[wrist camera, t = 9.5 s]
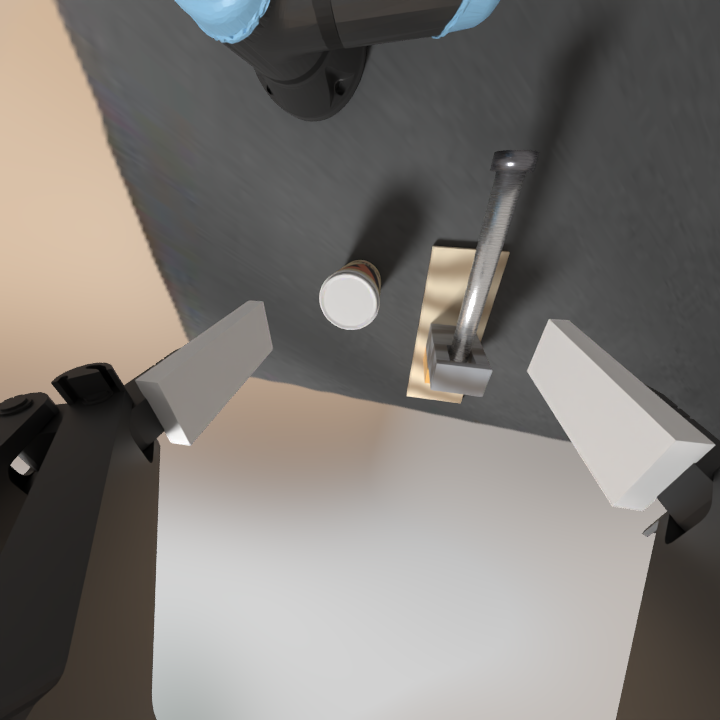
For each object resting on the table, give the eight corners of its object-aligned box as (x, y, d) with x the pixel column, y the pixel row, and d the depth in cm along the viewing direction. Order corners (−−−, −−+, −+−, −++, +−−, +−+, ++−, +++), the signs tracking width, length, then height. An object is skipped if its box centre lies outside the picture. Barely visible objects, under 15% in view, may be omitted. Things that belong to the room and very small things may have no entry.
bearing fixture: (432, 245, 45) (441, 267, 32) (507, 250, 43) (548, 276, 31) (406, 392, 62) (405, 445, 49) (459, 399, 61) (472, 455, 48)
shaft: (490, 154, 31) (500, 149, 27) (530, 155, 30) (546, 150, 27) (441, 356, 46) (443, 371, 42) (467, 359, 45) (472, 374, 42)
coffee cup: (395, 273, 48) (391, 294, 38) (368, 313, 53) (359, 341, 43) (351, 244, 47) (334, 258, 37) (328, 288, 52) (308, 311, 42)
